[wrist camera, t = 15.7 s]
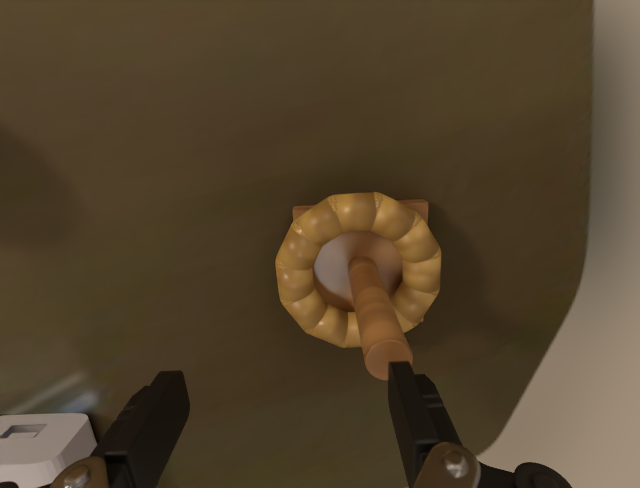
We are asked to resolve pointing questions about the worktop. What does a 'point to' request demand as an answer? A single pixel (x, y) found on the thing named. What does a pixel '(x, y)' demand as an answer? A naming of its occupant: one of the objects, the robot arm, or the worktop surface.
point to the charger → (42, 446)
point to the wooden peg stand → (366, 288)
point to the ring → (352, 217)
